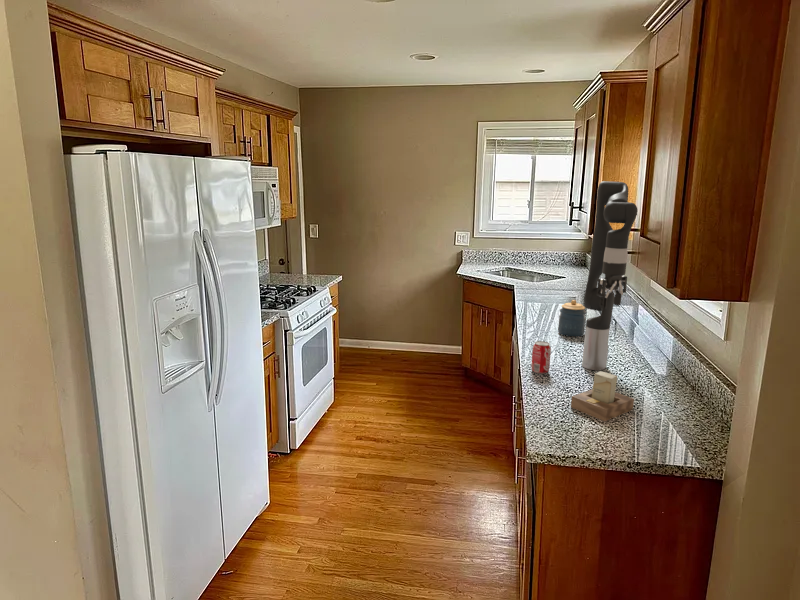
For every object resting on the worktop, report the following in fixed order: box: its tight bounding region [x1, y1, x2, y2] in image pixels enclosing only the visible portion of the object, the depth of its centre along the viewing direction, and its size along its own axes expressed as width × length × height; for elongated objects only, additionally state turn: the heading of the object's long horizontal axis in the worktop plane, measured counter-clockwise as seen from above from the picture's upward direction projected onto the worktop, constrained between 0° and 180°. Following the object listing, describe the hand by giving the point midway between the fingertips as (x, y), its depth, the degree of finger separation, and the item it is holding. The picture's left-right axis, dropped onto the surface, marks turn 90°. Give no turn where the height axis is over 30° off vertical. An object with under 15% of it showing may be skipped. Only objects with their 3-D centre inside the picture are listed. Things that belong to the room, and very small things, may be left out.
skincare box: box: [591, 370, 618, 404], centre depth 180 cm, size 6×4×12 cm
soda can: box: [531, 340, 552, 375], centre depth 214 cm, size 7×7×12 cm
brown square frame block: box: [570, 388, 635, 422], centre depth 180 cm, size 16×13×4 cm
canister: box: [557, 299, 587, 337], centre depth 270 cm, size 13×13×18 cm
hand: (610, 306), depth 188 cm, fingers open, 8 cm apart
